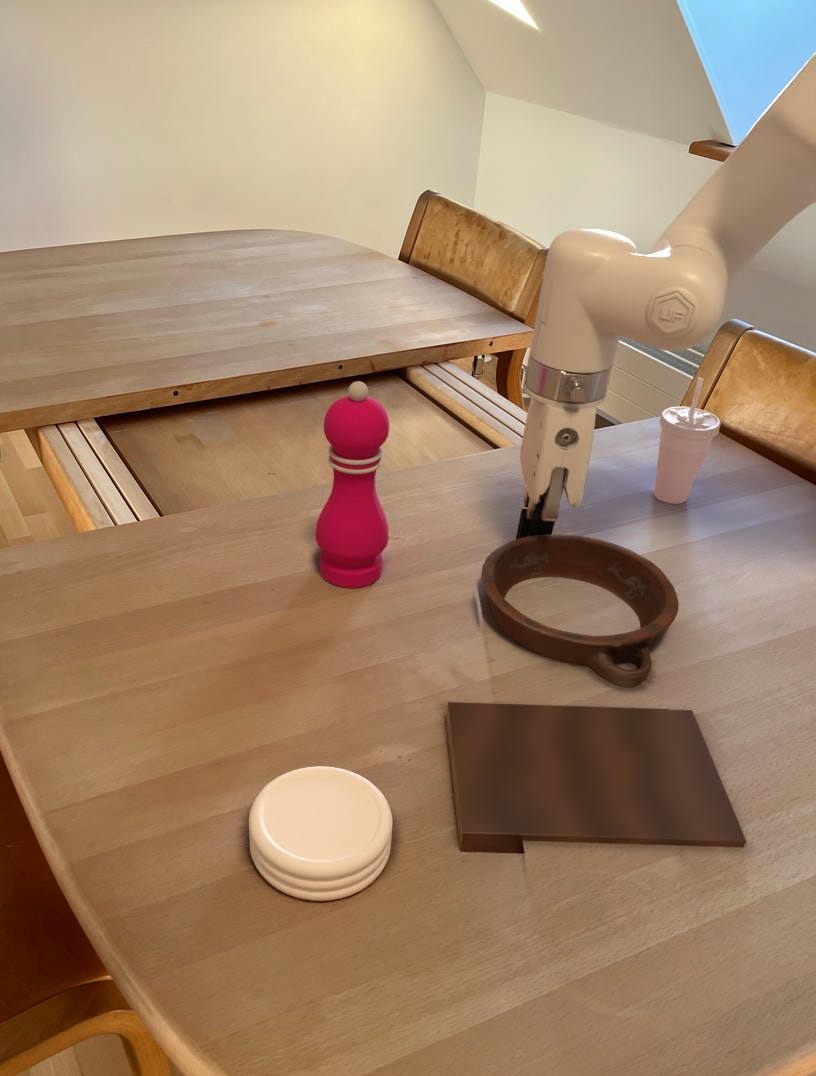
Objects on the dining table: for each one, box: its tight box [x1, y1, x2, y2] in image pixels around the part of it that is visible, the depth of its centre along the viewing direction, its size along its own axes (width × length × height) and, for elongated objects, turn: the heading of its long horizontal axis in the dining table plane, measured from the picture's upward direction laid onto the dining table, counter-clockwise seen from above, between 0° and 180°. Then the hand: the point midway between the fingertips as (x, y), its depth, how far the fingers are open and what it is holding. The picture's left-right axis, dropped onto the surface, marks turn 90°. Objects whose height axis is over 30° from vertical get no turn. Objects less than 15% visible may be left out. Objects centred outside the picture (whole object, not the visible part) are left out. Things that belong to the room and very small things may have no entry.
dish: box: [480, 533, 680, 688], centre depth 90 cm, size 18×22×5 cm
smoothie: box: [653, 377, 722, 505], centre depth 108 cm, size 6×6×14 cm
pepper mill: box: [314, 380, 390, 589], centre depth 92 cm, size 7×7×20 cm
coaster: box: [248, 765, 394, 902], centre depth 68 cm, size 10×10×4 cm
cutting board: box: [445, 701, 747, 854], centre depth 74 cm, size 20×14×2 cm
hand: (531, 546), depth 100 cm, fingers closed
